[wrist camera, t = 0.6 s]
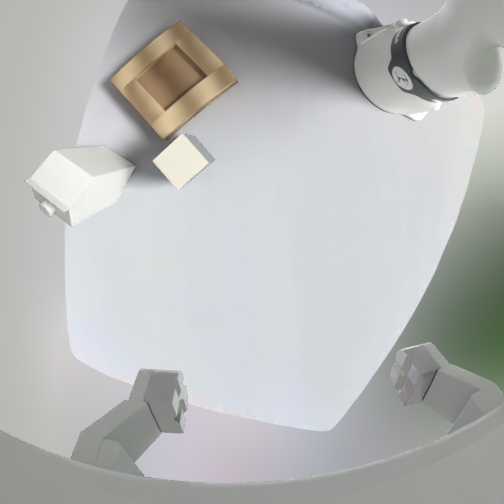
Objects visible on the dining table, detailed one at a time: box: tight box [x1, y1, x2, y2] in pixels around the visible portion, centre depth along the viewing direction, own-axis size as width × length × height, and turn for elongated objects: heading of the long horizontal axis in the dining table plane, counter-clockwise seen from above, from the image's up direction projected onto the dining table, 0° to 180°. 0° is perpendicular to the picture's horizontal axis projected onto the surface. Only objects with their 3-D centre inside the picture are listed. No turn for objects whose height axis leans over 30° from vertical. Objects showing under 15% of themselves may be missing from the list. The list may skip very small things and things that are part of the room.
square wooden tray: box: [110, 21, 238, 140], centre depth 36 cm, size 14×14×3 cm
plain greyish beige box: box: [153, 134, 215, 190], centre depth 37 cm, size 5×5×10 cm
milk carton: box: [25, 146, 136, 226], centre depth 33 cm, size 7×7×19 cm
